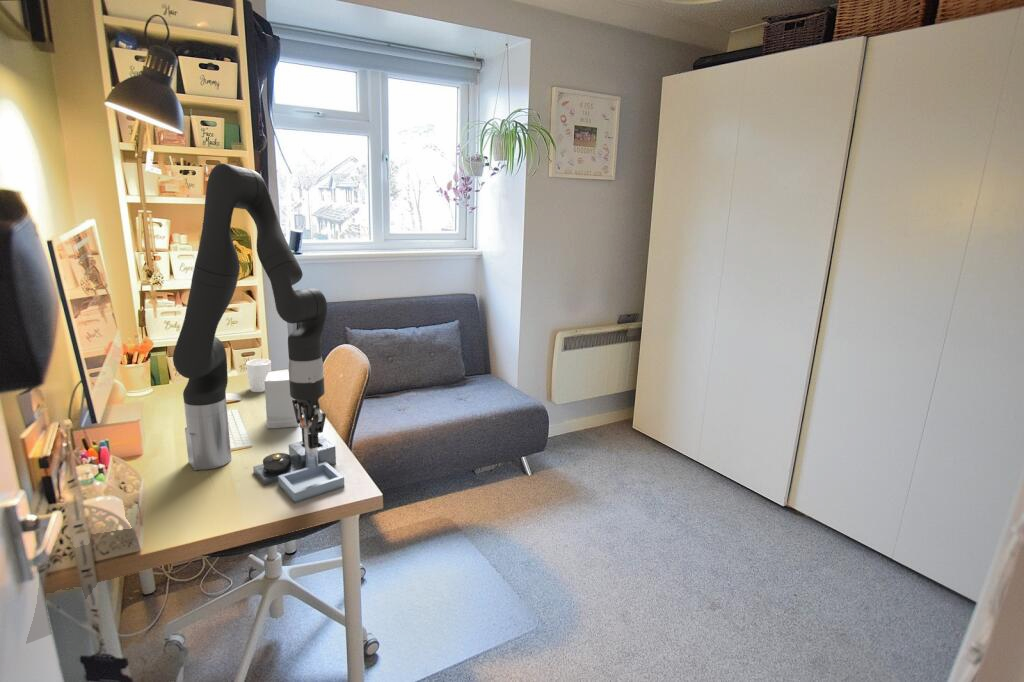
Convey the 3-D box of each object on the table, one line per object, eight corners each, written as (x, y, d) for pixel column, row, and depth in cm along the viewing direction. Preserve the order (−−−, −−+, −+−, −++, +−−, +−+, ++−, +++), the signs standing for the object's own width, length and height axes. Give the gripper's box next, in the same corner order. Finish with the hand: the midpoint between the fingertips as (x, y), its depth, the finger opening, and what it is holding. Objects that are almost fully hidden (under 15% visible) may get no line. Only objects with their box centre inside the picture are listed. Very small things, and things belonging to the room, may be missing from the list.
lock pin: (307, 471, 129) (304, 423, 126) (301, 465, 132) (298, 418, 129) (323, 466, 132) (320, 419, 128) (316, 460, 134) (313, 414, 131)
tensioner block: (265, 485, 132) (263, 466, 131) (253, 472, 138) (252, 454, 136) (336, 463, 144) (335, 446, 143) (322, 452, 150) (322, 435, 148)
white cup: (268, 383, 199) (266, 357, 196) (276, 390, 193) (274, 362, 191) (244, 388, 194) (242, 361, 191) (252, 394, 188) (250, 366, 186)
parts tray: (295, 503, 125) (294, 493, 125) (278, 485, 132) (278, 475, 132) (344, 486, 133) (344, 477, 132) (326, 470, 140) (326, 461, 140)
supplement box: (299, 427, 165) (296, 379, 161) (266, 429, 162) (263, 381, 158) (301, 415, 173) (299, 370, 169) (270, 417, 170) (267, 371, 167)
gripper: (278, 371, 128) (283, 439, 133) (302, 387, 118) (307, 460, 123) (309, 365, 133) (313, 431, 138) (335, 381, 123) (339, 451, 128)
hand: (310, 444), depth 130 cm, fingers closed on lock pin, 2 cm apart
